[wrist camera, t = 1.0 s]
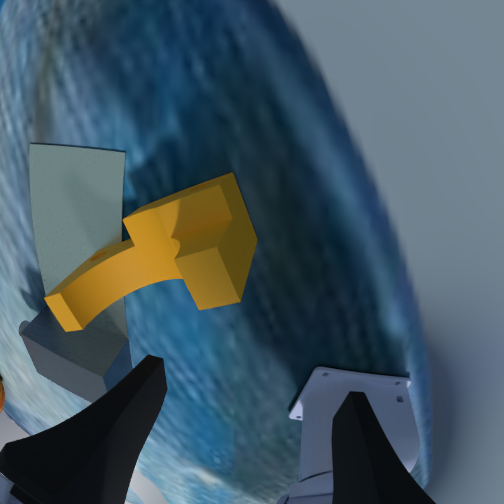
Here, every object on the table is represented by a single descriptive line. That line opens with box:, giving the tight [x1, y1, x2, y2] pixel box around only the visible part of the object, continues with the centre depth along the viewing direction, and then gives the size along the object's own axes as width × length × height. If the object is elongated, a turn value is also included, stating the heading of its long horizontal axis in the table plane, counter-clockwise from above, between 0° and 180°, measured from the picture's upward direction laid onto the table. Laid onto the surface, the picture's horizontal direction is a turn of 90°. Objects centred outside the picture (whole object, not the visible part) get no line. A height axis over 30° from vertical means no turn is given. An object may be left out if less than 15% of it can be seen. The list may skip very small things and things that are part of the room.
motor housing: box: [19, 144, 132, 403], centre depth 19 cm, size 13×22×5 cm, turn 168°
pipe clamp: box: [44, 172, 258, 332], centre depth 15 cm, size 12×4×6 cm, turn 109°
